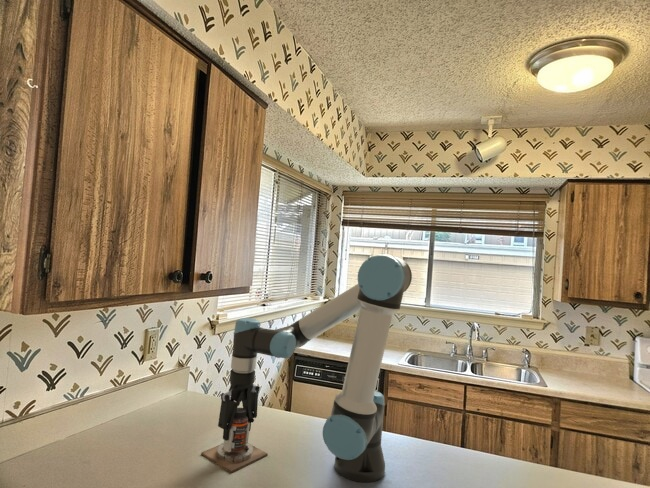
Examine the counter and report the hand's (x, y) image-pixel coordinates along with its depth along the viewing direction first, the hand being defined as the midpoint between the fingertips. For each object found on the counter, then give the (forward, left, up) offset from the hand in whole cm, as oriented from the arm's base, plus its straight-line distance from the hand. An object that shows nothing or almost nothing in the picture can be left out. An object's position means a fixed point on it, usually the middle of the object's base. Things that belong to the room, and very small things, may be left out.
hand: (235, 446), depth 116 cm
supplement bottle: (0, 0, -1) cm, 1 cm away
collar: (0, 0, -3) cm, 3 cm away
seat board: (0, 0, -3) cm, 3 cm away
